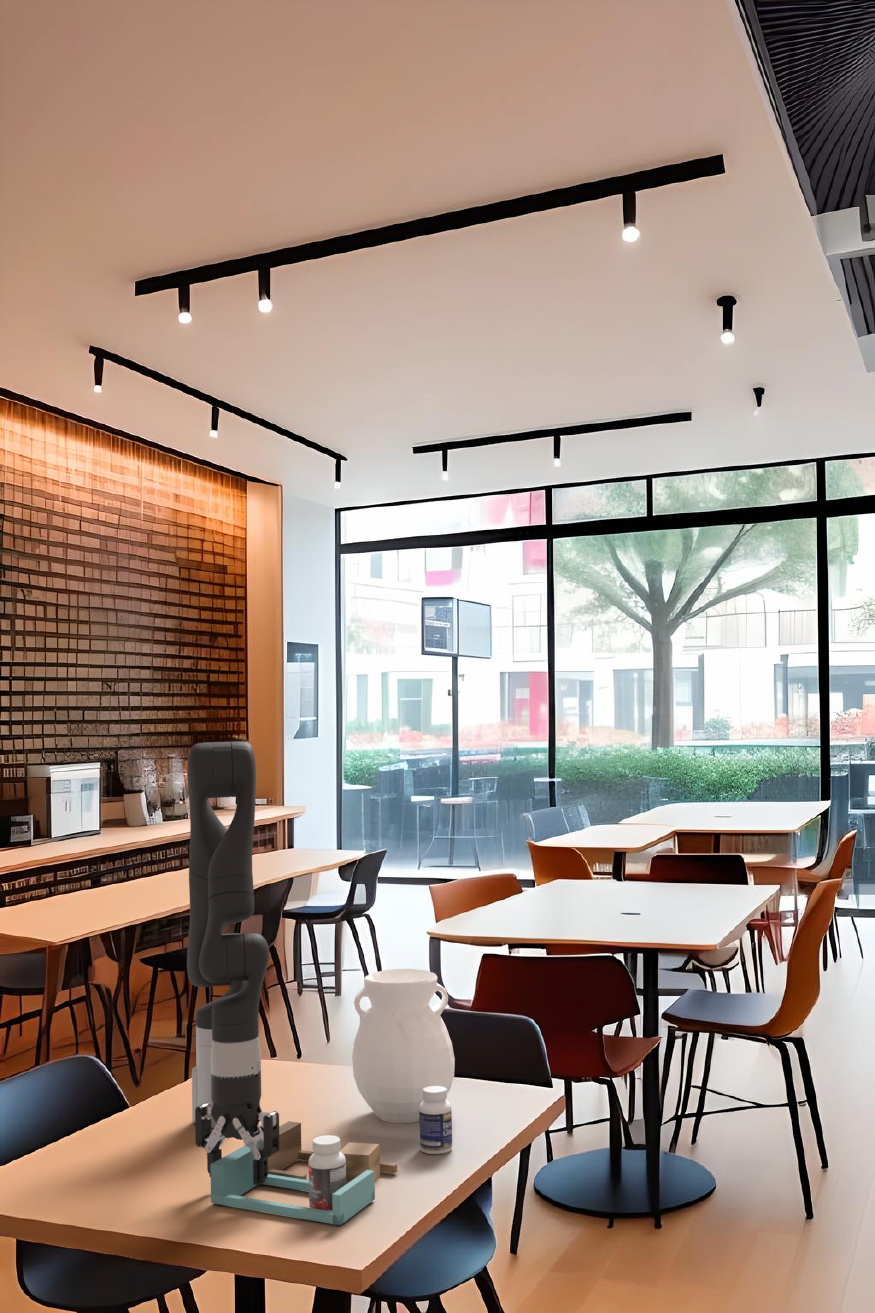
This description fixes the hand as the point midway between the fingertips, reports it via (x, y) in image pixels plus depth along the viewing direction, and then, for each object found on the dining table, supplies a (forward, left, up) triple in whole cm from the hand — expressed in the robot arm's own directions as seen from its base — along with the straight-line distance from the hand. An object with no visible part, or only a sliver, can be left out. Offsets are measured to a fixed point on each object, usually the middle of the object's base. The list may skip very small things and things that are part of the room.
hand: (237, 1180), depth 171 cm
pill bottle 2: (+20, +28, -2) cm, 34 cm away
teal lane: (+10, 0, -2) cm, 10 cm away
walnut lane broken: (+9, +11, -2) cm, 14 cm away
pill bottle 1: (+16, 0, -2) cm, 16 cm away
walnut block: (+15, +11, -2) cm, 19 cm away
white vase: (+7, +42, -2) cm, 43 cm away
